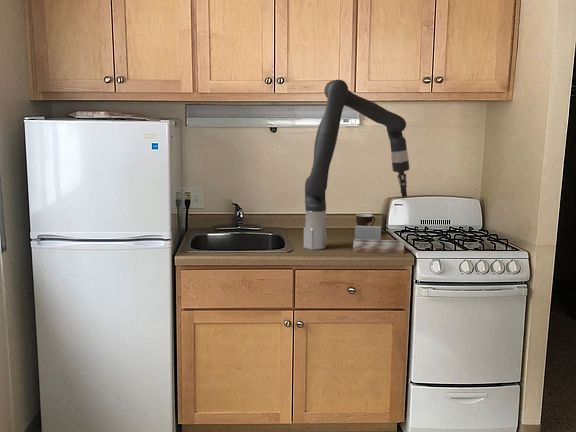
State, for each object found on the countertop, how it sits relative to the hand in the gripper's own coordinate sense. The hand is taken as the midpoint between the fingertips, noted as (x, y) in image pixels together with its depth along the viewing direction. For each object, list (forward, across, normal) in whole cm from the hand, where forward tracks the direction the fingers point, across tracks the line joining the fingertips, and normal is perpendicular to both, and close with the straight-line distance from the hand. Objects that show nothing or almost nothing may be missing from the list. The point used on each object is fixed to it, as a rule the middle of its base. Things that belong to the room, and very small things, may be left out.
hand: (404, 195), depth 264 cm
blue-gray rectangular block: (+21, 0, -19) cm, 28 cm away
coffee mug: (+22, -20, -20) cm, 36 cm away
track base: (+20, +15, -14) cm, 29 cm away
